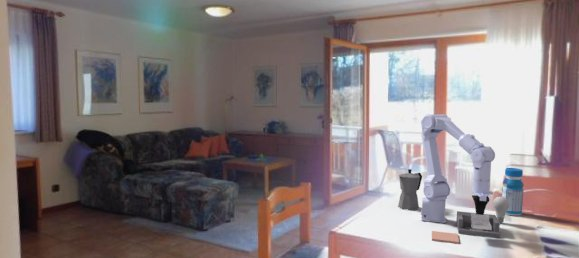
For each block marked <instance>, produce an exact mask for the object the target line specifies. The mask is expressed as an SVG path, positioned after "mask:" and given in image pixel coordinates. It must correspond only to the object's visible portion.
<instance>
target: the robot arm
mask: <svg viewBox="0 0 579 258" xmlns="http://www.w3.org/2000/svg"><path fill="white" fill-rule="evenodd" d="M451 118H452V117H449V116H448V115H447V114H445V113H442V114H429V113H428V114H425V115H424V116H423V118H422V119H421V120H420V125H421V138H422V139H421V140H422V146H423V153H424V158H425V165H426V171H427V172H426V173H427V177H426V178H425V179H424V181H423V195H424V196H425V197H422V203H421V204H422V205H421V210H420V215H421V221H425V222H434V223H442V224H446V223H447V218H446V201H447V199H448V198H447V197H449V196H450V193H451V187H450V185H449V183H448V179H447V178H446V177H445V176H444V175H443V173H442V167H441V161H440V156H439V149H438V143H437V137H438V136H439V134H440V133H443V131H445V132H446V133H447V134H449V135H450V136H452V137H453V138H454V139H456V140H457V141H458V146H459V147H461V149H463V150H464V151H466V153H468V154H469V155H470V159H471V160H472V166H473V175H472V190H471V193H472V194H473V195H471V197H472V200H473V202H474V207H475V213H476V214H485V211H486V207H487V205H488V203H489V202H490V200H491V199H490V198H489V196H490V195H494V192H493V191H492V190H491V191H490V187H491V172H492V171H491V170H492V162H493V161H494V160H495V159H496V153H495V152H496V151H494V149H493V148H492V147H491V146H487V145H486V146H485V144H484V143H482V142H480V141H479V140H478V139H477V138H475V135H474V134H470V133H468V134H466V133H464V132H463V130H461V129H460V127H458V125H456V124H455V123H454V122H453V121H452V119H451Z"/></svg>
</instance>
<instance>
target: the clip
mask: <svg viewBox="0 0 579 258" xmlns="http://www.w3.org/2000/svg"><path fill="white" fill-rule="evenodd" d="M470 213H471V224H472V227H473V228H476V229H486V230H485V231H490V230H492V226H491V224H490V222H489V215H485V214H486V213H484V214H475V213H476V212H470Z"/></svg>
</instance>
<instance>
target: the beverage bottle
mask: <svg viewBox="0 0 579 258" xmlns="http://www.w3.org/2000/svg"><path fill="white" fill-rule="evenodd" d="M523 171H524V170H523V169H521V168H516V167H507V168H505V169H504V175H505V178H504V179H503V181H502V189H501V193H502V195H501V197H505V198H506V199H507V200H508V201H509V204H510V206H509V208H508V210H507V211H506V213H505V216H506V215H507V216H513V217H517V216H518V217H519V216H522V215H523V202H524V201H523V199H524V193H525V190H524V185H525V184H524V182H523V180H522V178H523V174H524V173H523Z"/></svg>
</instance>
